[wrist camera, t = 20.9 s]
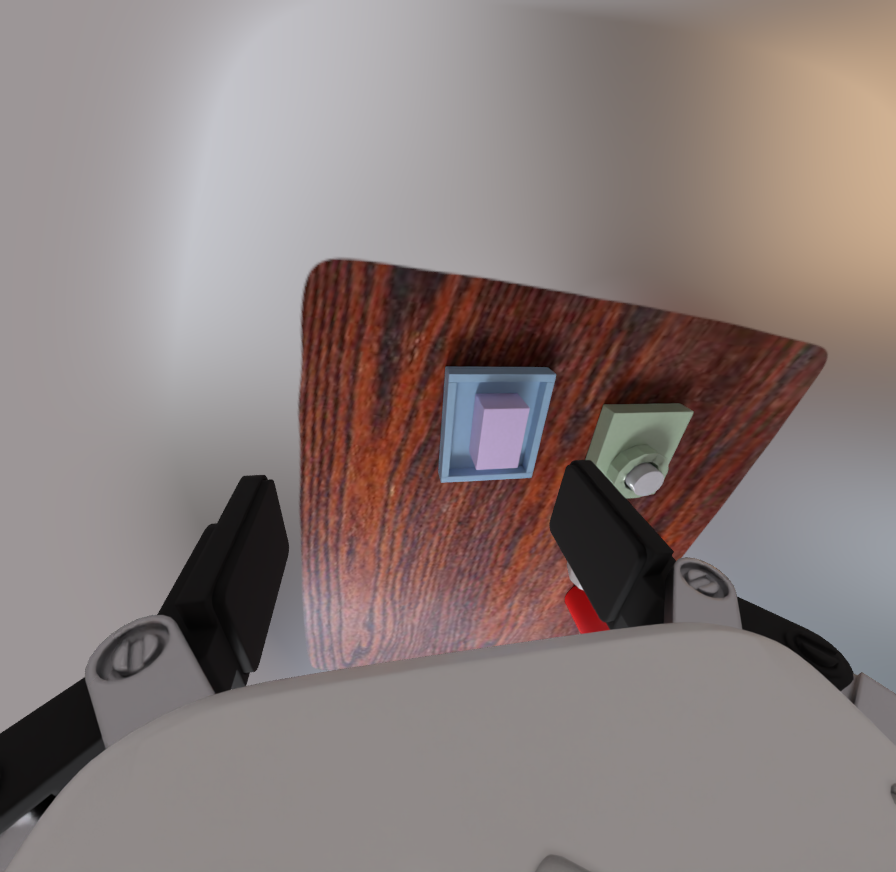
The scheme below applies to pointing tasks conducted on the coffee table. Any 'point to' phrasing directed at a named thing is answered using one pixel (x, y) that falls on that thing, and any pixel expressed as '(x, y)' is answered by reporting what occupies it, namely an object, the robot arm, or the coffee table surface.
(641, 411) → the green push button box
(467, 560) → the coffee table surface
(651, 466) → the grey push button
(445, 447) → the soap dish
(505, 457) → the soap bar
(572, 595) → the mug
